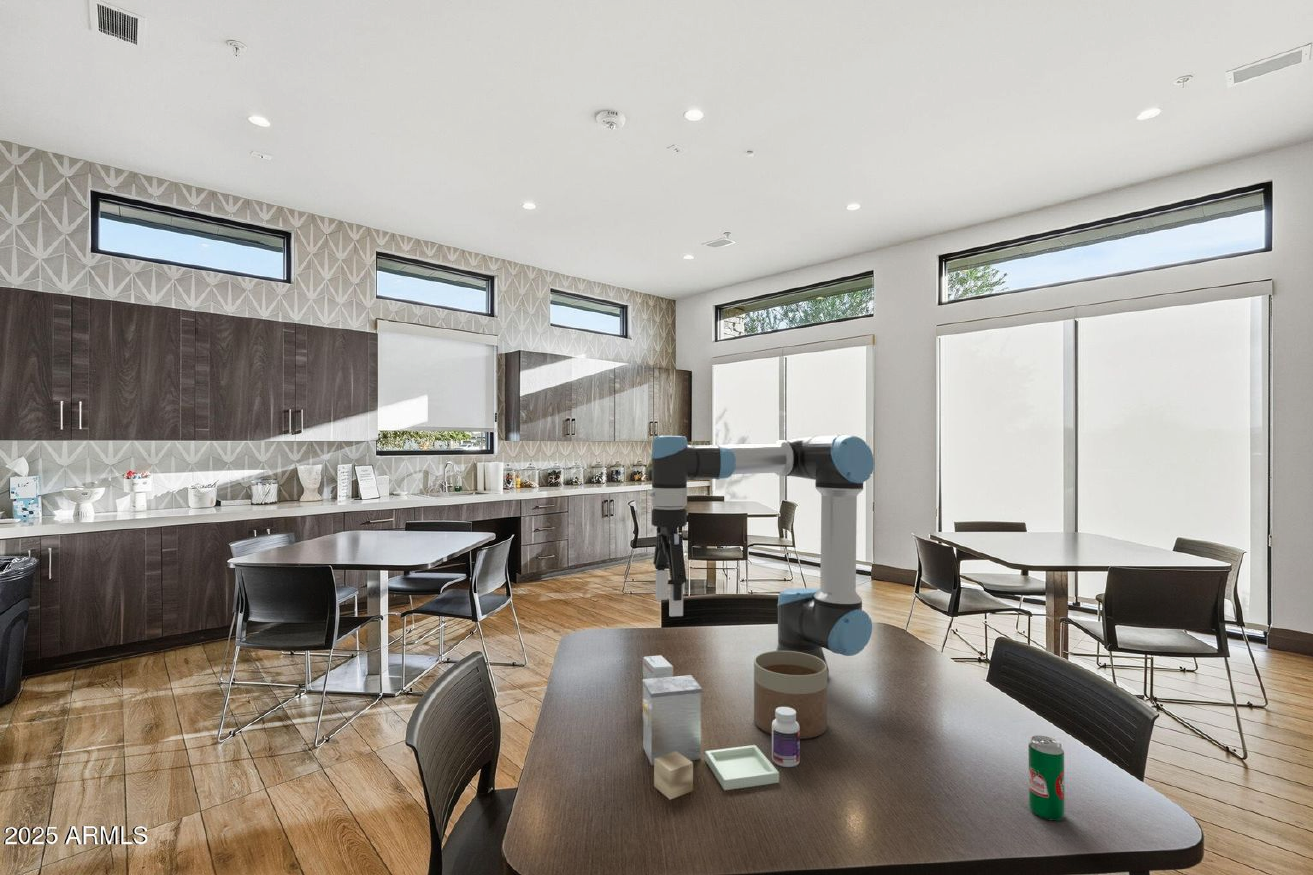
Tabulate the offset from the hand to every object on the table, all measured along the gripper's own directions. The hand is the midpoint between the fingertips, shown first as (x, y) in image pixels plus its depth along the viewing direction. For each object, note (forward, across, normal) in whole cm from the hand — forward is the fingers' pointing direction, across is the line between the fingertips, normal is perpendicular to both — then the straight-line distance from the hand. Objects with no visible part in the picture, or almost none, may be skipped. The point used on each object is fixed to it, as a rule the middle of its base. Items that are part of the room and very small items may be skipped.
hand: (668, 607), depth 128 cm
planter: (+27, 0, +28) cm, 39 cm away
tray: (+27, +16, +10) cm, 33 cm away
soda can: (+27, +39, +56) cm, 74 cm away
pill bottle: (+27, +14, +20) cm, 37 cm away
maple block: (+27, +19, -3) cm, 34 cm away
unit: (+27, +7, -1) cm, 28 cm away
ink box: (+27, -12, 0) cm, 30 cm away
